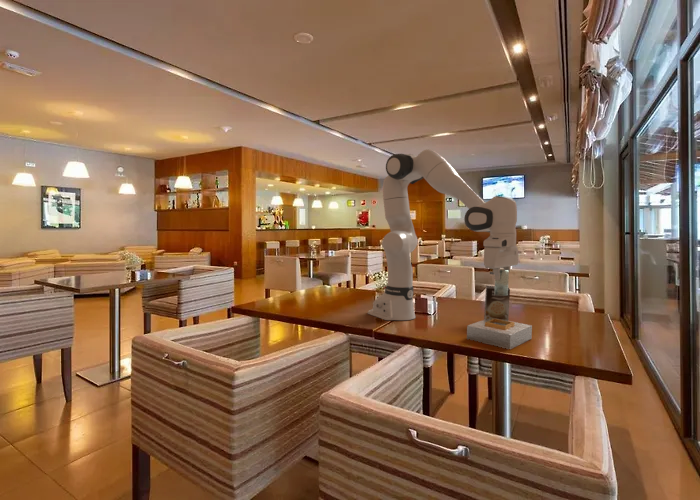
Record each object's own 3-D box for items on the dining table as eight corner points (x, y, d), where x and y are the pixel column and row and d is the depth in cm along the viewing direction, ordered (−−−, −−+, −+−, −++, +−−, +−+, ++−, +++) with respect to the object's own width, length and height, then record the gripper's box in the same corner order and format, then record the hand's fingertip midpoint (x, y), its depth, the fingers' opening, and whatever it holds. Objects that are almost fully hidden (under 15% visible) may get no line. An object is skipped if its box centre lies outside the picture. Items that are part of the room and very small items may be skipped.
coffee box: (484, 326, 158) (485, 287, 157) (483, 322, 164) (485, 285, 163) (508, 328, 155) (510, 289, 154) (506, 324, 161) (508, 286, 160)
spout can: (486, 293, 141) (487, 269, 141) (492, 292, 145) (493, 268, 144) (504, 296, 137) (505, 271, 136) (510, 294, 140) (511, 270, 139)
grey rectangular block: (466, 338, 141) (467, 322, 140) (490, 329, 153) (490, 314, 153) (509, 349, 129) (510, 331, 129) (531, 338, 141) (532, 322, 141)
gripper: (507, 240, 148) (505, 275, 149) (480, 241, 134) (479, 280, 135) (523, 240, 143) (522, 277, 144) (498, 242, 129) (496, 283, 130)
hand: (501, 279), depth 139 cm, fingers closed on spout can, 5 cm apart
